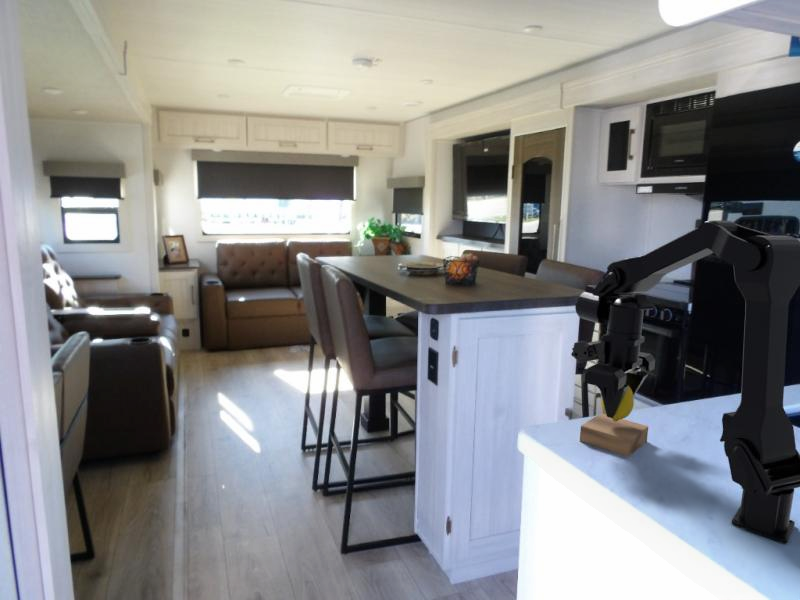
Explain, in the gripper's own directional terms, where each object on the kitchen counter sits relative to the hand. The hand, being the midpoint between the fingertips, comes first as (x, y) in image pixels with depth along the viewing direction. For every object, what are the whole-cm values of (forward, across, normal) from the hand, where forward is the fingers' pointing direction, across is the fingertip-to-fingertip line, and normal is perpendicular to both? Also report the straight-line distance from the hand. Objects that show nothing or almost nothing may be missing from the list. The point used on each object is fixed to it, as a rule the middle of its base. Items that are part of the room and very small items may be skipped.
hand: (616, 413), depth 102 cm
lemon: (+2, 0, 0) cm, 2 cm away
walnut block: (+6, 0, 0) cm, 6 cm away
